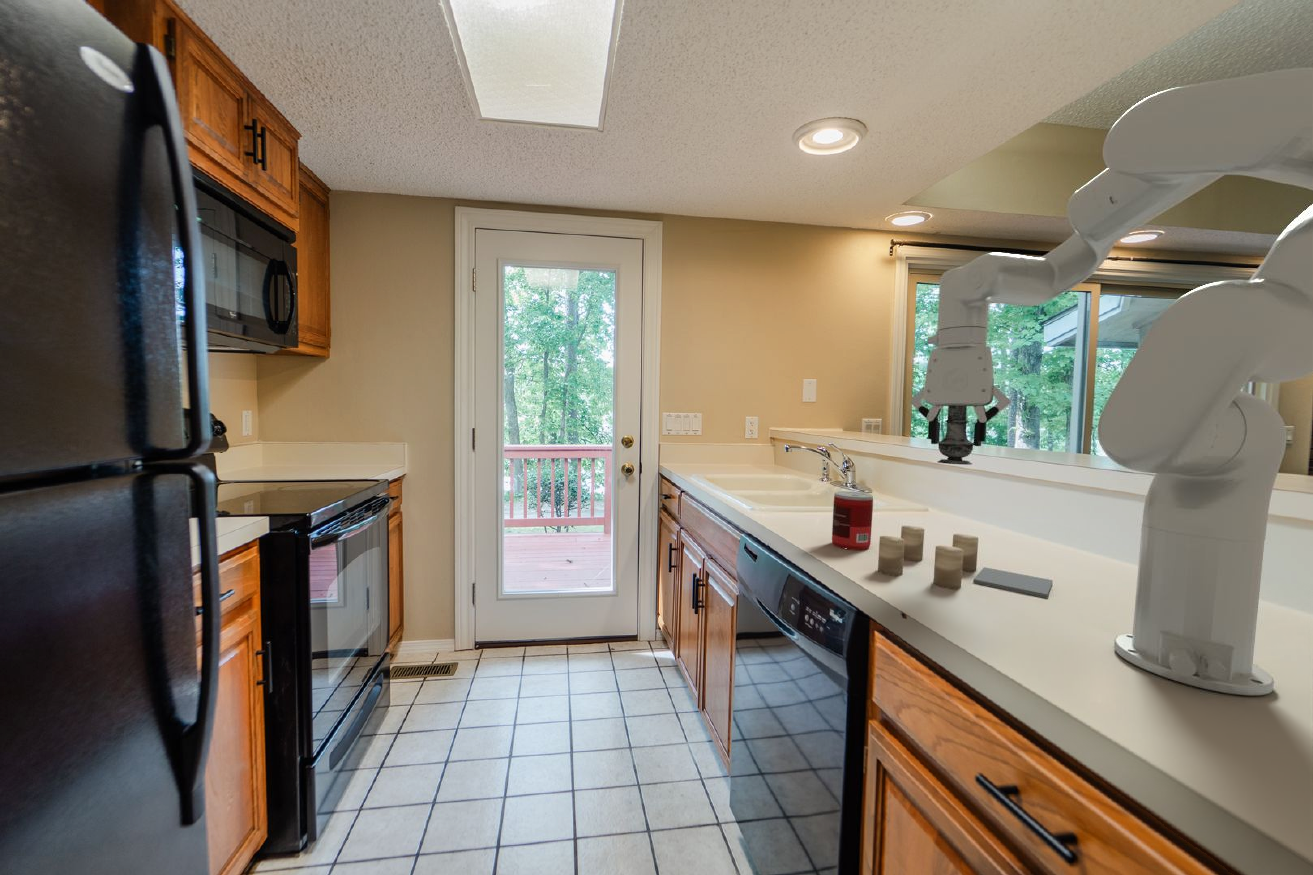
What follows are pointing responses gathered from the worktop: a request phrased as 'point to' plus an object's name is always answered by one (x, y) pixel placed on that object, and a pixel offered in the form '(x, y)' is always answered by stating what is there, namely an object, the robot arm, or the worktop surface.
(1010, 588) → the coaster
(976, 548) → the dowel back right
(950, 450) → the salt shaker
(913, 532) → the dowel back left
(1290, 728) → the worktop surface
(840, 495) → the canned food
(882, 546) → the dowel front left
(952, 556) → the dowel front right
